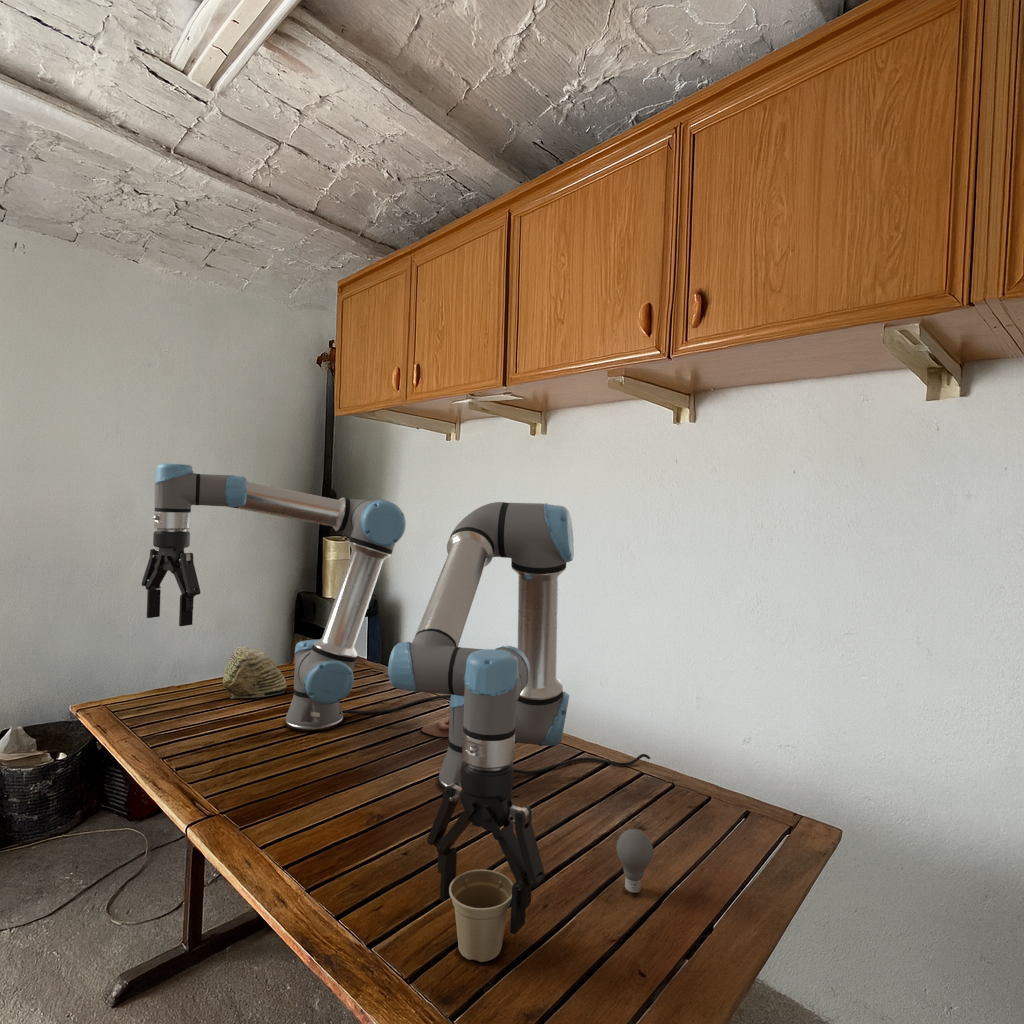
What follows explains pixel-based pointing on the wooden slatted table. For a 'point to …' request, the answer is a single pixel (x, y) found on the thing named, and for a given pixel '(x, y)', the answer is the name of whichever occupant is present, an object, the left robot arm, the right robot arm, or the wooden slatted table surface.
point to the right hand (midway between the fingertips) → (481, 911)
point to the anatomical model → (437, 728)
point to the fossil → (252, 674)
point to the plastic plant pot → (480, 912)
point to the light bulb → (634, 857)
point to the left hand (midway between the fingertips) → (169, 621)
